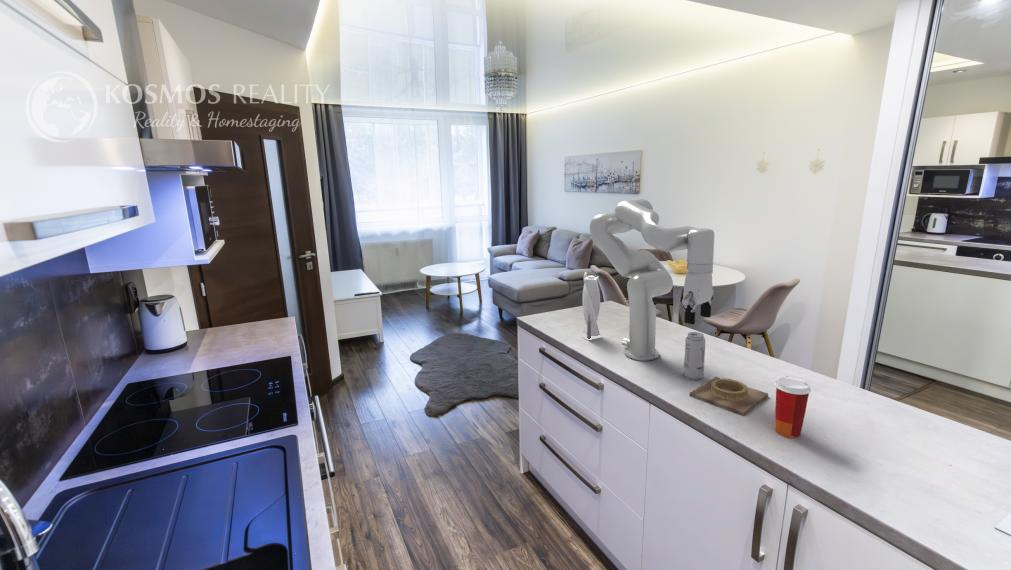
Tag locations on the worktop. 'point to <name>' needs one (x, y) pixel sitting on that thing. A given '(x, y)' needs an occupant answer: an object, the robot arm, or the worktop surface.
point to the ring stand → (729, 395)
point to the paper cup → (790, 405)
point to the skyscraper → (591, 305)
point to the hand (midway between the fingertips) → (697, 319)
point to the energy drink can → (694, 355)
